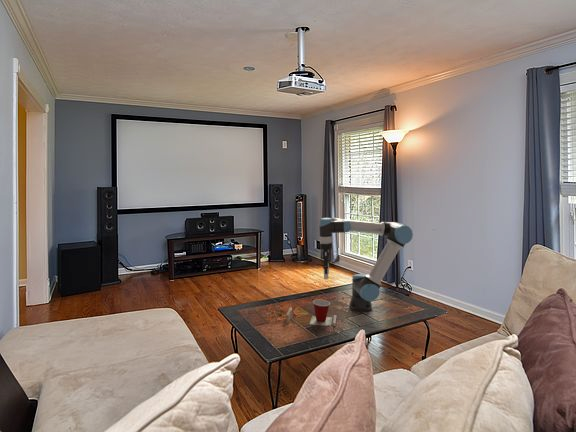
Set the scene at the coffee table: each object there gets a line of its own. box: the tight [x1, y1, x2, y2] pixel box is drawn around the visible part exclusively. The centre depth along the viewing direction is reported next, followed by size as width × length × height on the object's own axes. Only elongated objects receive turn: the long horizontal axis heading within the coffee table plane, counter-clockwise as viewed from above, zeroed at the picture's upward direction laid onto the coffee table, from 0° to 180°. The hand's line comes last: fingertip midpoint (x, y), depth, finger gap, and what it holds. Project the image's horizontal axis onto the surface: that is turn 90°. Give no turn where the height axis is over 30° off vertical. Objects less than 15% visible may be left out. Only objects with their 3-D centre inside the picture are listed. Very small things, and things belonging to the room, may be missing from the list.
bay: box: [285, 307, 337, 327], centre depth 236 cm, size 30×13×5 cm, turn 80°
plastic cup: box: [312, 299, 331, 322], centre depth 235 cm, size 11×11×12 cm
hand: (326, 275), depth 240 cm, fingers open, 13 cm apart
